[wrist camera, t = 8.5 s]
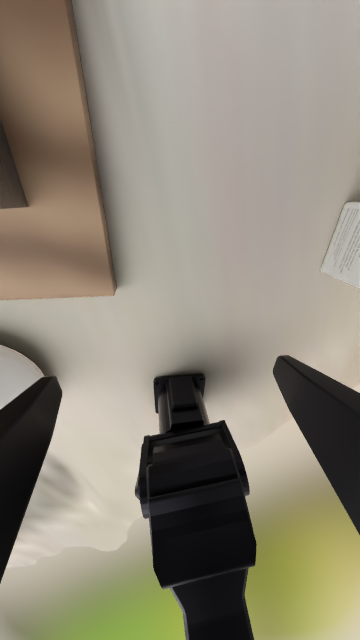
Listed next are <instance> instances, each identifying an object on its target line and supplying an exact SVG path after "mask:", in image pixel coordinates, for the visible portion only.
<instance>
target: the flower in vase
mask: <svg viewBox="0 0 360 640" xmlns="http://www.w3.org/2000/svg"><path fill="white" fill-rule="evenodd" d="M41 377H44V375H43V373H42V371H41V370H40V369H39V368H38V367H37V366H36V365H35V363H33V362H32V361H31V360H30V359H28V358H27V357H25V356H24V355H22V354H21V353H19V352H17V351H15V350H13V349H10V348H8V347H5V346H2V345H0V409H2V408H3V407H4V406H5V405H7V404H8V403H9V402H11V401H12V400H13V399H14V398H16V397H17V396H18V395H20V394H21V393H22V392H23V391H25V390H26V389H27V388H28V387H30V386H31V385H32V384H34V383H35V382H36V381H37V380H39V379H40V378H41Z"/></svg>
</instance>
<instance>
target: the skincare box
mask: <svg viewBox="0 0 360 640" xmlns="http://www.w3.org/2000/svg"><path fill="white" fill-rule="evenodd" d="M320 271H321V272H324V273H326V274H328V275H330V276H333V277H335V278H337V279H339V280H341V281H344V282H346V283H348V284H350V285H353V286H355V287H357V288H359V289H360V202H346V203H345V205H344V207H343V210H342V213H341V215H340V218H339V221H338V223H337V226H336V229H335V232H334V234H333V237H332V240H331V242H330V245H329V248H328V250H327V253H326V256H325V258H324V261H323V264H322V266H321V269H320Z"/></svg>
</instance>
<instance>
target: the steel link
mask: <svg viewBox="0 0 360 640" xmlns="http://www.w3.org/2000/svg"><path fill="white" fill-rule="evenodd" d="M24 207H29V206H28V203H27V200H26V196H25V193H24V190H23V187H22V184H21V181H20V178H19V174H18V171H17V168H16V165H15V162H14V159H13V155H12V152H11V149H10V146H9V143H8V140H7V137H6V133H5V130H4V127H3V124H2V121H1V118H0V209H8V208H24Z"/></svg>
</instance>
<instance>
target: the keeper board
mask: <svg viewBox="0 0 360 640" xmlns="http://www.w3.org/2000/svg"><path fill="white" fill-rule="evenodd" d="M0 118H1V121H2V124H3V127H4V130H5V133H6V137H7V140H8V143H9V146H10V149H11V152H12V155H13V159H14V162H15V165H16V168H17V171H18V174H19V178H20V181H21V184H22V187H23V190H24V193H25V196H26V200H27V203H28V206H29V207H24V208H8V209H0V300H18V299H43V298H67V297H91V296H114V294H115V291H116V284H115V277H114V271H113V264H112V258H111V252H110V245H109V239H108V233H107V226H106V220H105V213H104V207H103V201H102V194H101V188H100V182H99V175H98V169H97V162H96V156H95V150H94V143H93V137H92V131H91V124H90V118H89V111H88V105H87V99H86V92H85V86H84V80H83V73H82V67H81V60H80V54H79V48H78V41H77V35H76V29H75V22H74V16H73V9H72V3H71V0H0Z"/></svg>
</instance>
